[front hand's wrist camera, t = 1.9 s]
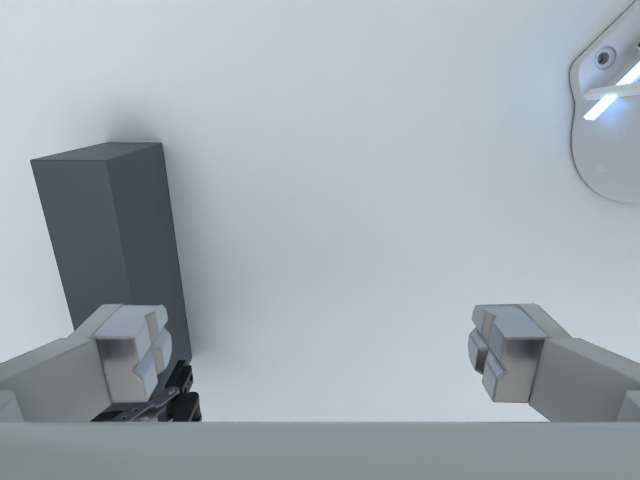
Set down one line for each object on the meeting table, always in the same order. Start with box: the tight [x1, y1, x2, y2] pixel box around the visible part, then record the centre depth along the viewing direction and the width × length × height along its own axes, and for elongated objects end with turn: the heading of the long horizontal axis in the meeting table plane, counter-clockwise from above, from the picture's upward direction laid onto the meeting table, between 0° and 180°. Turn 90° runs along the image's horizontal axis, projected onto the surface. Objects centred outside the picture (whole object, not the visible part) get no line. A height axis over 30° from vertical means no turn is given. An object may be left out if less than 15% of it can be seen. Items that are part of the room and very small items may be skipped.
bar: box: [30, 143, 192, 422], centre depth 34 cm, size 23×5×10 cm, turn 0°
